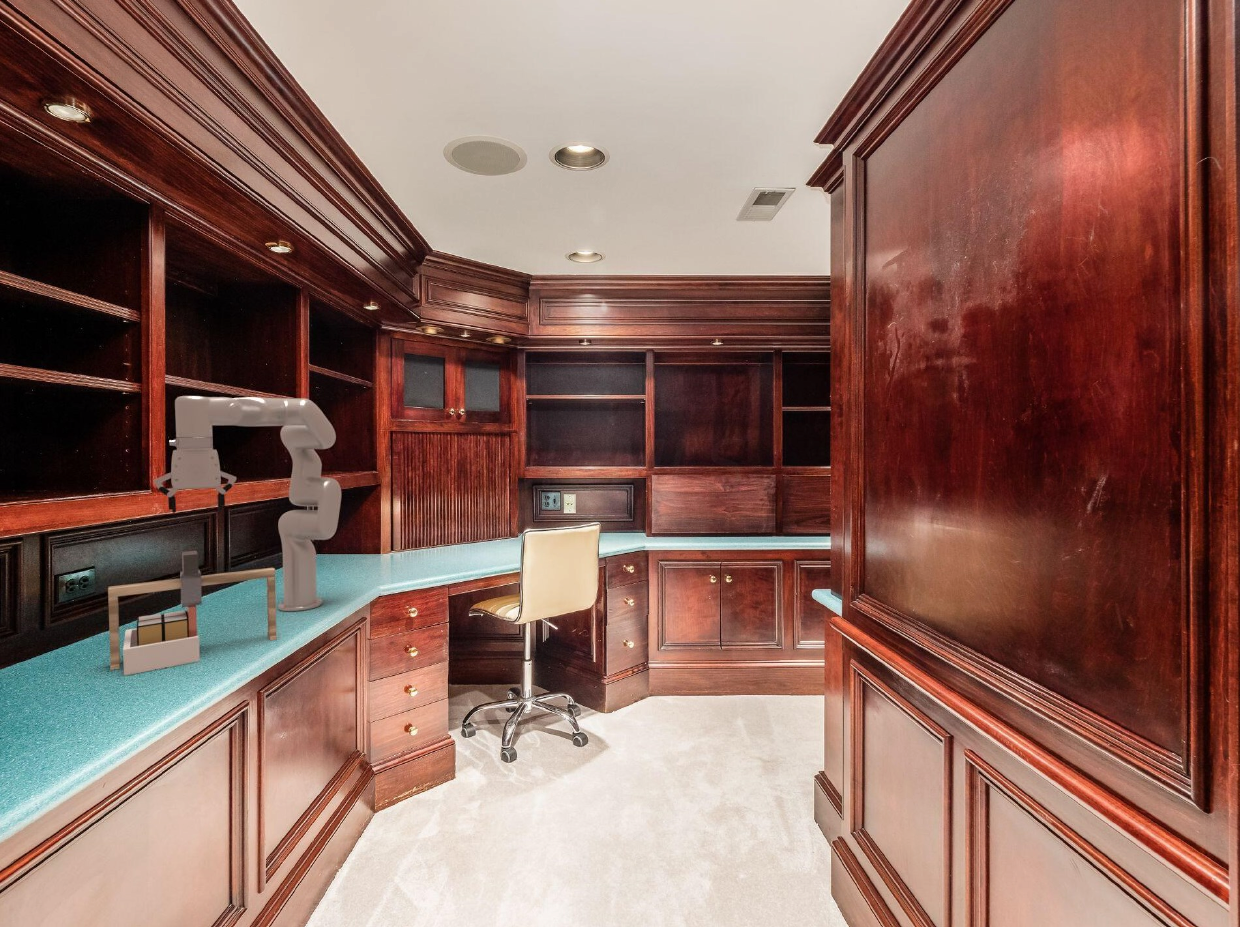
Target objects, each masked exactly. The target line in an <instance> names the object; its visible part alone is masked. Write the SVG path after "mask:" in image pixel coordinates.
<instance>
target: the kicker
mask: <svg viewBox="0 0 1240 927" xmlns="http://www.w3.org/2000/svg"><path fill="white" fill-rule="evenodd" d="M181 556H182V557H181V559H182V566H181V567H182V571H180V572H179V575H180V577H179V579H180V578H181V589H180V605H181V608H186V611H187V615H188V620H189V637H194V636H198V625H197V624H198V622H197V620H198V619H197V617H198V616H197V614H198V613H197V606H201V605H202V604H203V602H202V600H203V598H202V586H201V576H202V572H201V571H200V569H199V554H198V551H197V550H189V551H181Z"/></svg>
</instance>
